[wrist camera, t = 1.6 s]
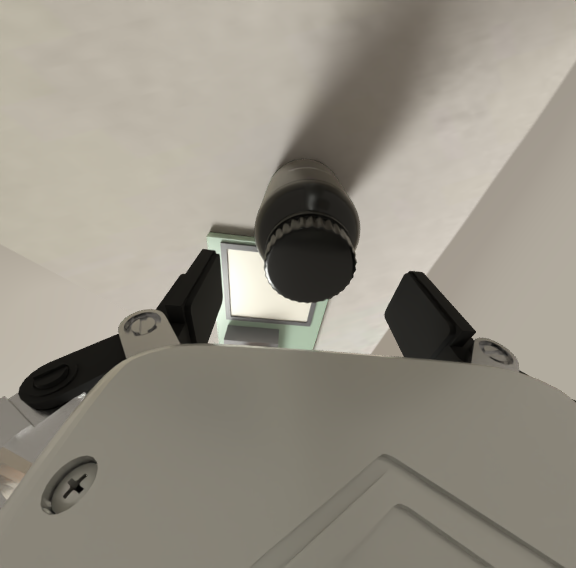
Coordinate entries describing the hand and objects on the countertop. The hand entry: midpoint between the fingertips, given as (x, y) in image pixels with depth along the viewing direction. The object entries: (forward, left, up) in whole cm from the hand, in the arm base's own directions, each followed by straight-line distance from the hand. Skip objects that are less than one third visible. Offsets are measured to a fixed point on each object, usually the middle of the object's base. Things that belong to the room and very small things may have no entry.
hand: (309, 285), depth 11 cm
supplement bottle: (-1, 0, -13) cm, 13 cm away
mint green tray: (+14, -2, -12) cm, 19 cm away
